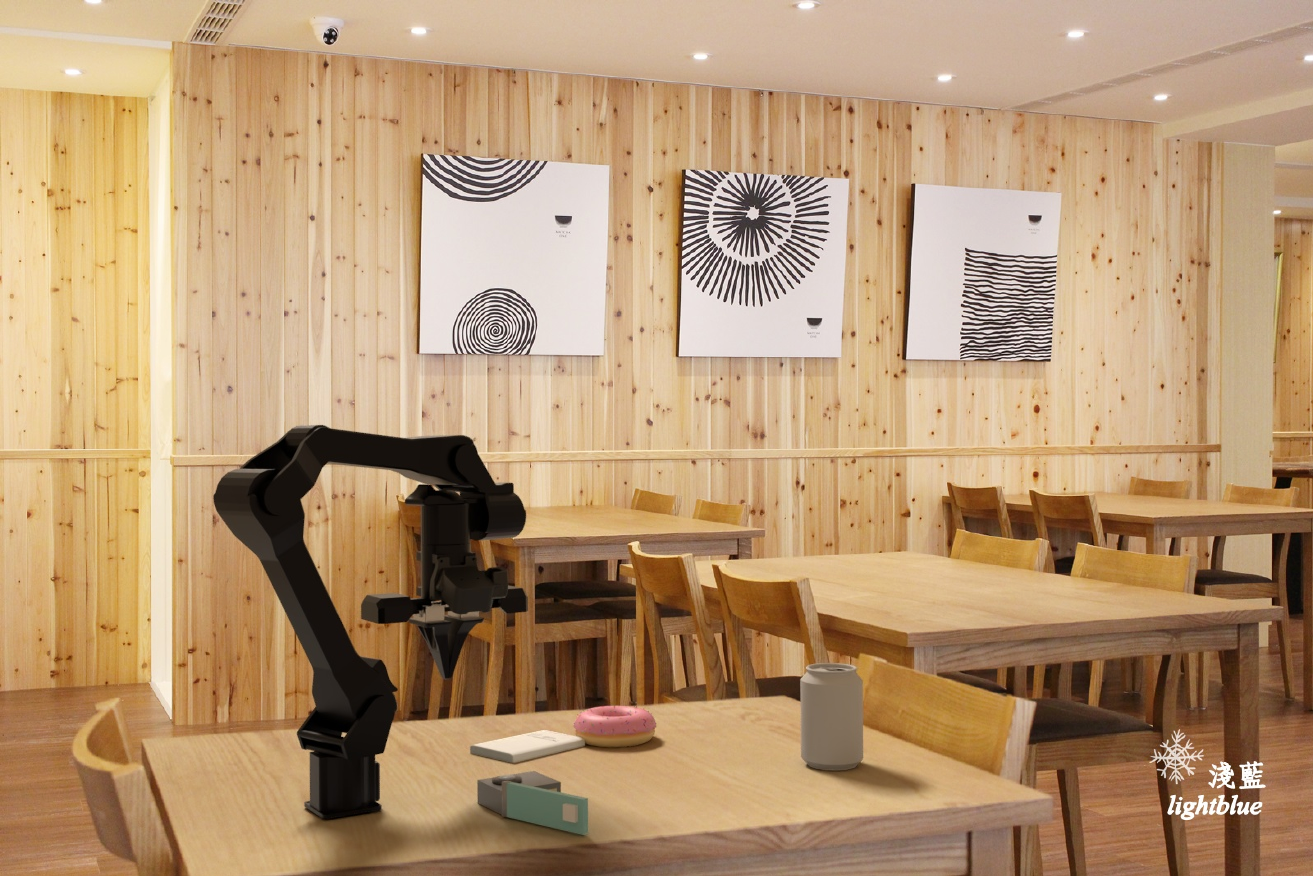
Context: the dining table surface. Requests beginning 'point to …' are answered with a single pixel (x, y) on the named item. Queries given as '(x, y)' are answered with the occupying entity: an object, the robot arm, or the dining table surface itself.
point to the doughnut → (615, 726)
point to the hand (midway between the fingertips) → (446, 678)
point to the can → (831, 716)
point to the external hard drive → (527, 746)
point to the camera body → (492, 787)
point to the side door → (545, 807)
